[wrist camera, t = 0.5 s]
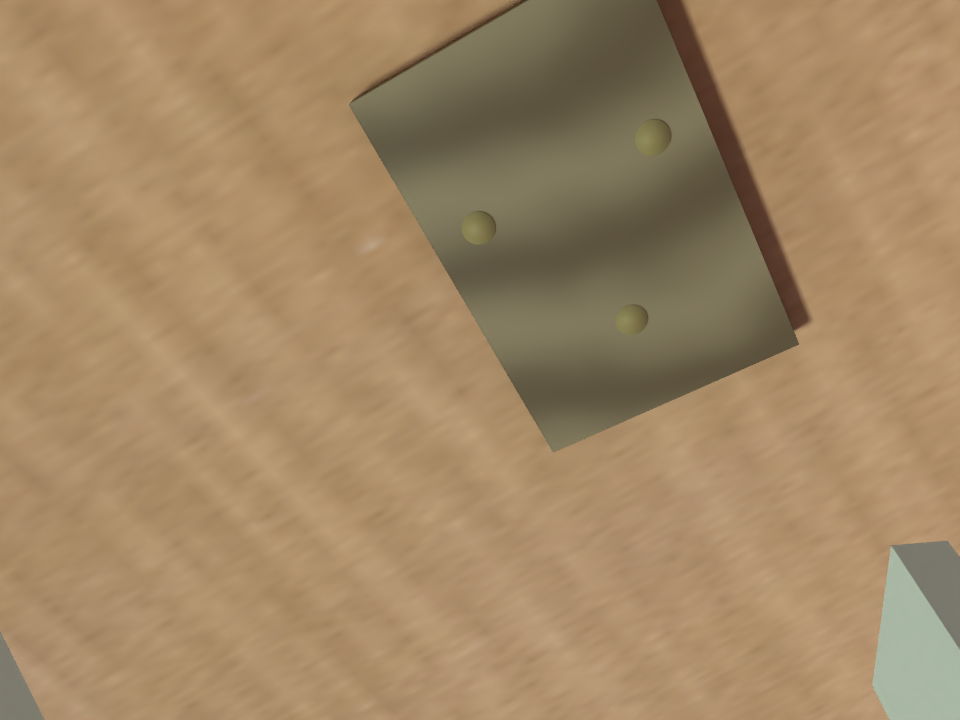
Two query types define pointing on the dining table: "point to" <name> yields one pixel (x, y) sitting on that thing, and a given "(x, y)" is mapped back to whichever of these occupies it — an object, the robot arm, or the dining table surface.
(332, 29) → the dining table surface
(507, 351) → the board
